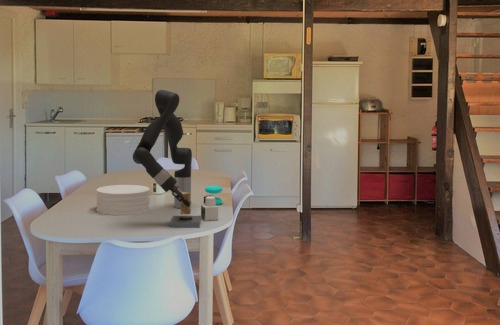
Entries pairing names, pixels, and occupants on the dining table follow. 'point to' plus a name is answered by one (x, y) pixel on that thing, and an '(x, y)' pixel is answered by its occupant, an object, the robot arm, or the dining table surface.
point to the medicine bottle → (209, 209)
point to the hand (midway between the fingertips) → (189, 204)
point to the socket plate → (185, 221)
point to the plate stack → (123, 199)
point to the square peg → (183, 207)
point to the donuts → (214, 192)
